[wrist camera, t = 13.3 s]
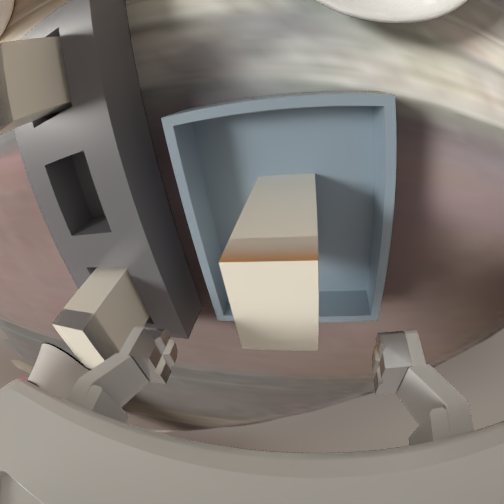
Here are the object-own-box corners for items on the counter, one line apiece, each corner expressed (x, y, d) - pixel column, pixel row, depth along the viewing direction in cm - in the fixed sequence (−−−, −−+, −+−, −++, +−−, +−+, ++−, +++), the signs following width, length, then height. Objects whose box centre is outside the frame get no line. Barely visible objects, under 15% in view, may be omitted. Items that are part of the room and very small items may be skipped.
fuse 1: (94, 95, 16) (-10, 130, 8) (63, 110, 16) (-31, 150, 9) (83, 35, 13) (-21, 47, 6) (53, 55, 14) (-43, 77, 6)
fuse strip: (202, 306, 26) (188, 338, 23) (119, 300, 29) (101, 327, 26) (124, -4, 12) (88, -12, 9) (35, 51, 14) (1, 57, 11)
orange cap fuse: (318, 242, 20) (317, 350, 12) (268, 244, 20) (242, 348, 13) (314, 173, 17) (318, 260, 10) (258, 176, 18) (218, 262, 10)
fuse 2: (161, 296, 25) (117, 376, 18) (131, 294, 26) (85, 366, 19) (141, 250, 23) (82, 330, 15) (110, 251, 23) (51, 323, 16)
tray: (371, 288, 22) (377, 320, 19) (228, 290, 25) (217, 320, 22) (378, 91, 14) (394, 95, 11) (185, 109, 17) (160, 118, 14)
